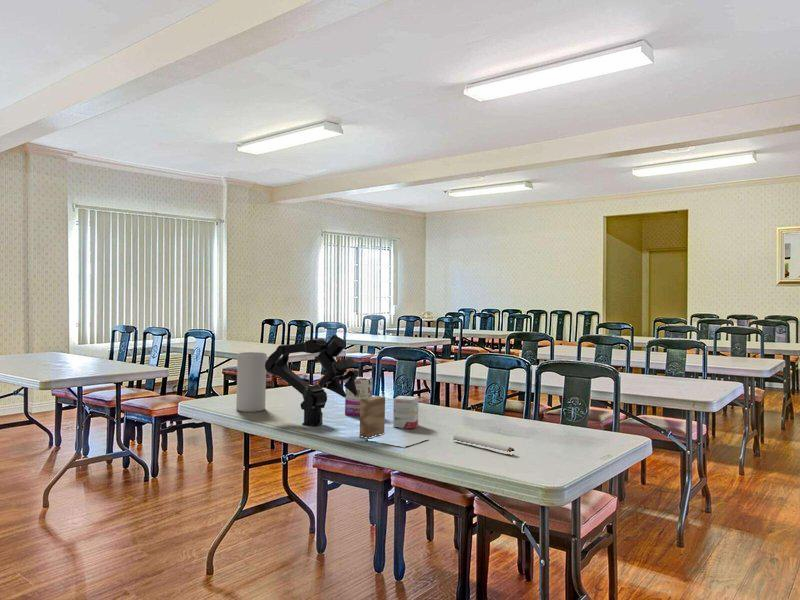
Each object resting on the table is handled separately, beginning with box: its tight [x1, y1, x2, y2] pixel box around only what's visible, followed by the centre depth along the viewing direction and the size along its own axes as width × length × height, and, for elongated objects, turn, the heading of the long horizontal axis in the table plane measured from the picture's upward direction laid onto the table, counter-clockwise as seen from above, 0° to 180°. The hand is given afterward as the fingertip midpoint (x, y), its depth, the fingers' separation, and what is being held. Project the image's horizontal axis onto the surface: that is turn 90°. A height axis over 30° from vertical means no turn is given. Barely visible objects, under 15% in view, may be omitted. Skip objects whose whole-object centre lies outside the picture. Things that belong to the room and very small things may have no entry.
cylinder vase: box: [235, 351, 268, 413], centre depth 272 cm, size 12×12×25 cm
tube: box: [453, 433, 516, 452], centre depth 213 cm, size 3×3×25 cm
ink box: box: [392, 395, 419, 429], centre depth 246 cm, size 9×9×12 cm
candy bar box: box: [344, 376, 374, 417], centre depth 266 cm, size 11×5×16 cm, turn 76°
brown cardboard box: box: [359, 395, 386, 439], centre depth 228 cm, size 4×10×14 cm, turn 145°
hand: (351, 395), depth 234 cm, fingers open, 6 cm apart
